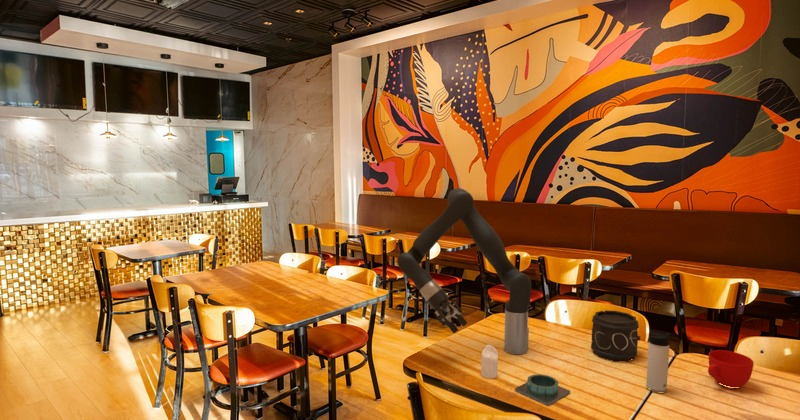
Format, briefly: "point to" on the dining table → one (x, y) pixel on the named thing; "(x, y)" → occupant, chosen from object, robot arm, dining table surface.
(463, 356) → the dining table surface
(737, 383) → the ceramic cup
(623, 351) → the black coffee canister
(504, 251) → the robot arm
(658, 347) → the travel mug
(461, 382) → the dining table surface
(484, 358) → the white crystal
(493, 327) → the dining table surface
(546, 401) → the socket plate
